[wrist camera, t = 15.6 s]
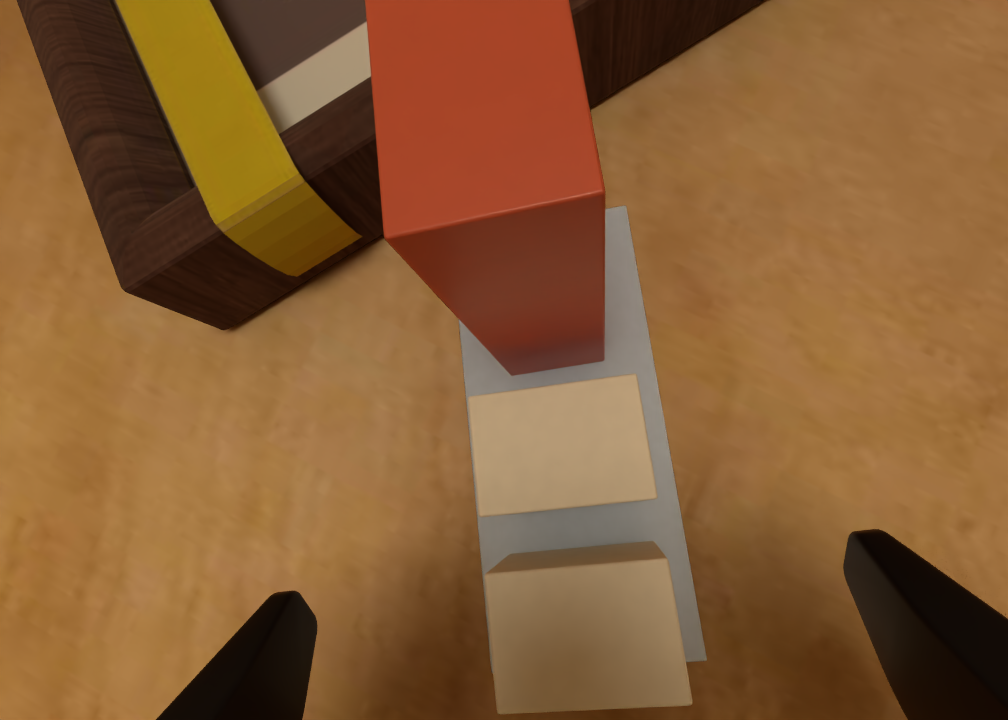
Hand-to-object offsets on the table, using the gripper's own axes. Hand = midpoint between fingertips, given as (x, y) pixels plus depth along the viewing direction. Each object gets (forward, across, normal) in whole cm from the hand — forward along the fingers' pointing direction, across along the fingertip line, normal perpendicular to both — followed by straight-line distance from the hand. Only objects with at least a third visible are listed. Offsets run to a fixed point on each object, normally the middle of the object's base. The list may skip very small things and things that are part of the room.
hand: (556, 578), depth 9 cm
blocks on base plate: (+10, 0, +5) cm, 11 cm away
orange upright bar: (+13, 0, +1) cm, 13 cm away
